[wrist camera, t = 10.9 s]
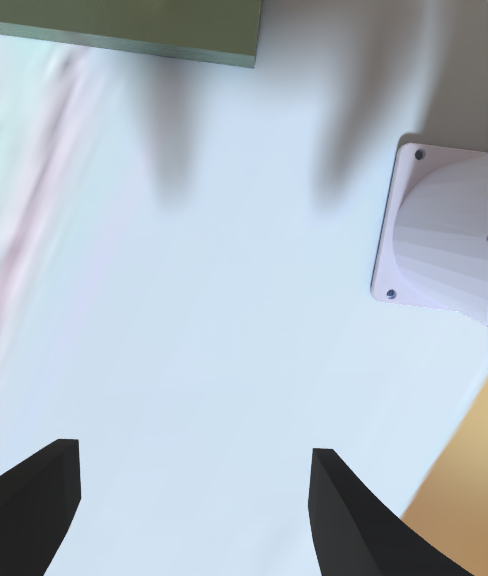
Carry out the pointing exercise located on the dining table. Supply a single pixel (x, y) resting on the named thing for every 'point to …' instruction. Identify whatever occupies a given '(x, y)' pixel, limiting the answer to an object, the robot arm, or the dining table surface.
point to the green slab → (143, 26)
